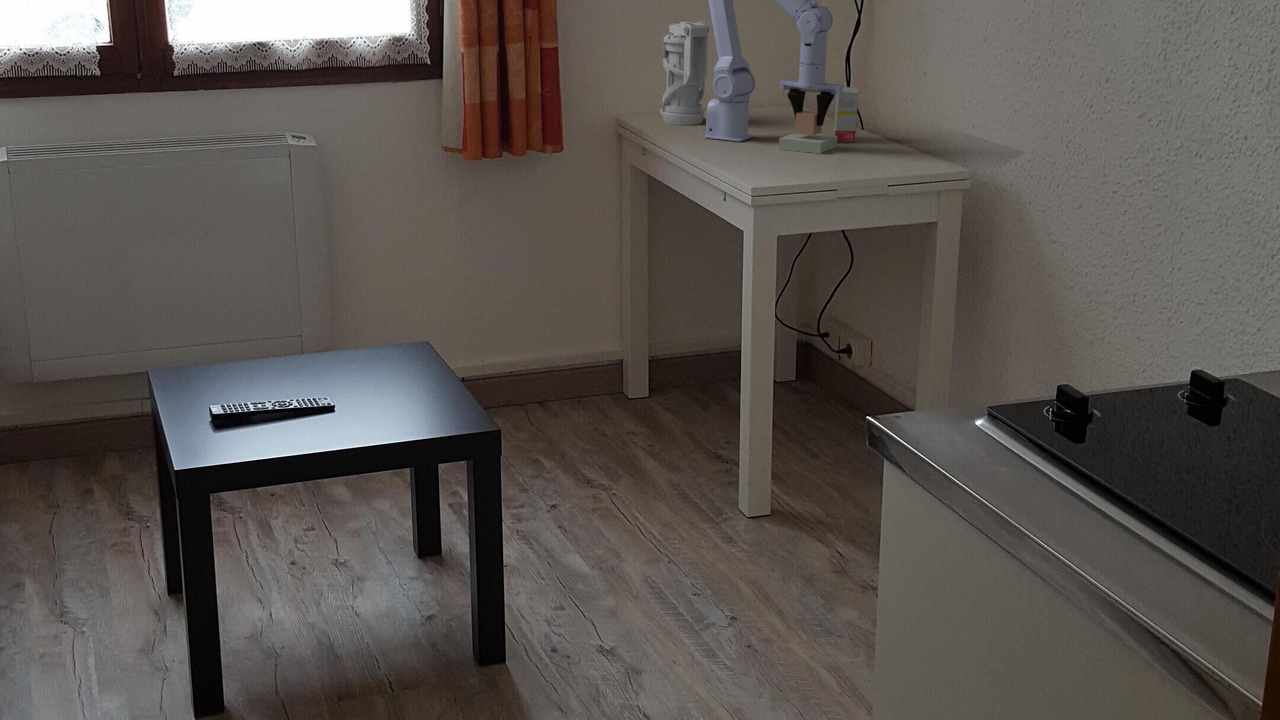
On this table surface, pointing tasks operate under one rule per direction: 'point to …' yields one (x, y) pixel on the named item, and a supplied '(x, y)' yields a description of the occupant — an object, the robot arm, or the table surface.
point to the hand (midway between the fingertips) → (809, 124)
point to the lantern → (685, 72)
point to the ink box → (846, 115)
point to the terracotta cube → (807, 123)
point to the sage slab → (807, 143)
